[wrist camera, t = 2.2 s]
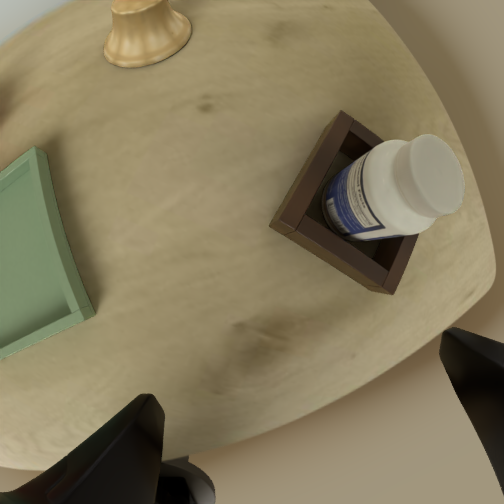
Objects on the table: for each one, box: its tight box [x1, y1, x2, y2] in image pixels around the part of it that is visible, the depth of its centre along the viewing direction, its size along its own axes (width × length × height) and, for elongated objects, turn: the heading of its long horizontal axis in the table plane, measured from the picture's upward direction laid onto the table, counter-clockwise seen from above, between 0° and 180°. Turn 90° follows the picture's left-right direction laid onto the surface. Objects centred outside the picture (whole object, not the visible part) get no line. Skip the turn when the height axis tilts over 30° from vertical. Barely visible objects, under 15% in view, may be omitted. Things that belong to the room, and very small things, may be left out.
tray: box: [0, 146, 96, 360], centre depth 15 cm, size 14×14×2 cm
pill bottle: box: [322, 134, 465, 242], centre depth 15 cm, size 5×5×10 cm
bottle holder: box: [269, 110, 419, 295], centre depth 19 cm, size 9×9×3 cm
